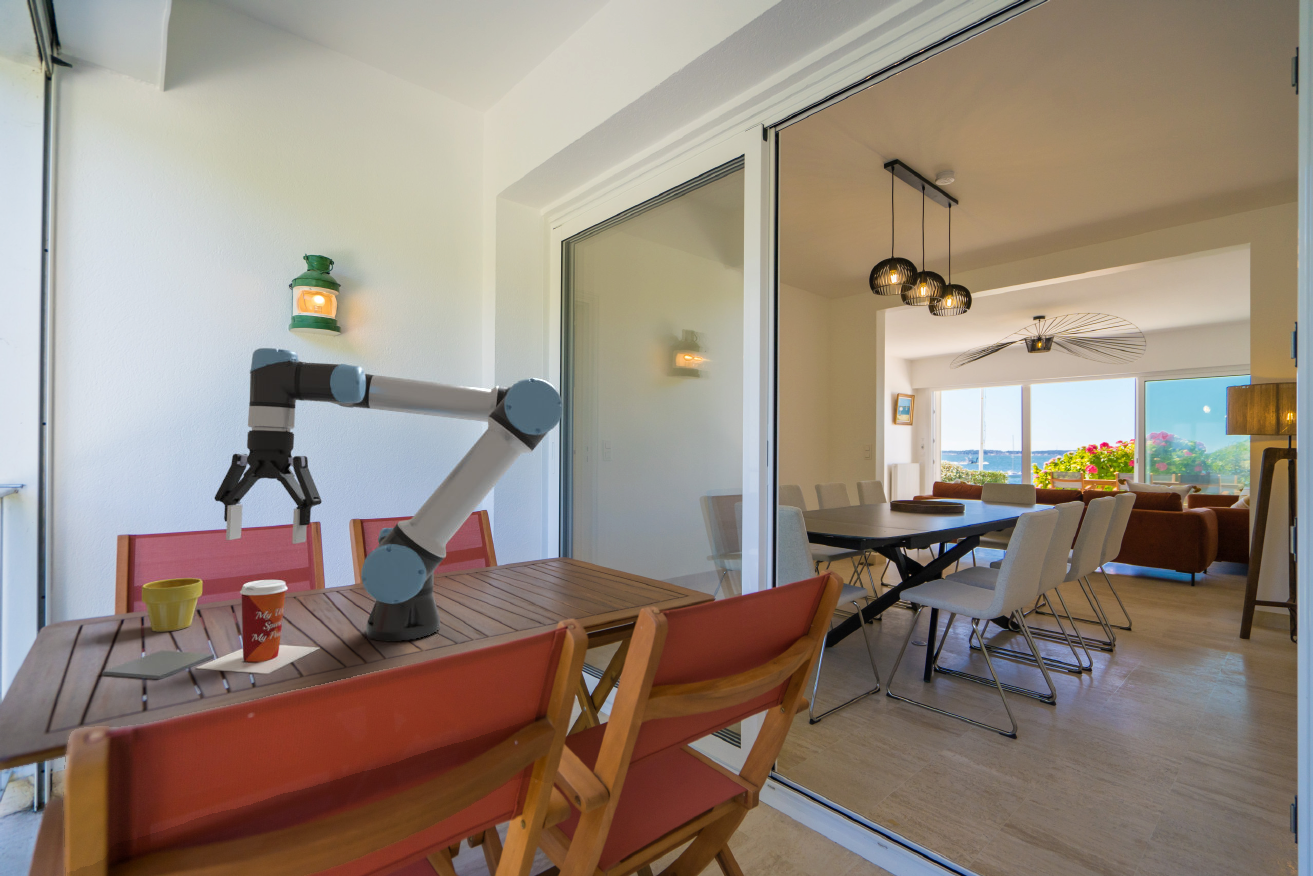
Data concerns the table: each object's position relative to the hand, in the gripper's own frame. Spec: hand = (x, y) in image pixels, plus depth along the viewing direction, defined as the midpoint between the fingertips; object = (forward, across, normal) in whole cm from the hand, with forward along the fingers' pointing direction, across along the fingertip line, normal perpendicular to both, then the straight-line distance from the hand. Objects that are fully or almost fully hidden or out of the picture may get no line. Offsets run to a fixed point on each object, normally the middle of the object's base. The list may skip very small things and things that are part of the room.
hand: (266, 541), depth 115 cm
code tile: (+22, 0, 0) cm, 22 cm away
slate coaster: (+22, +14, +7) cm, 27 cm away
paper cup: (+22, 0, 0) cm, 22 cm away
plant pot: (+22, +32, -13) cm, 41 cm away
